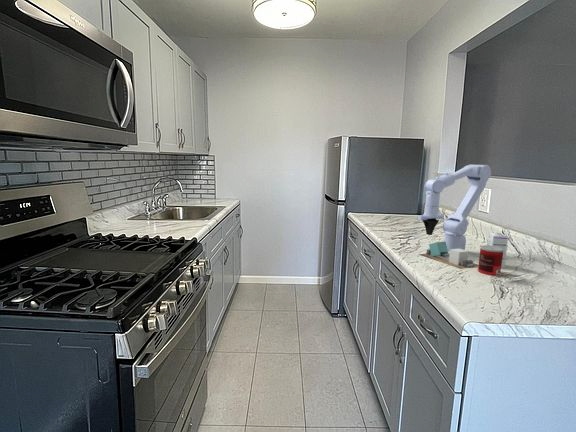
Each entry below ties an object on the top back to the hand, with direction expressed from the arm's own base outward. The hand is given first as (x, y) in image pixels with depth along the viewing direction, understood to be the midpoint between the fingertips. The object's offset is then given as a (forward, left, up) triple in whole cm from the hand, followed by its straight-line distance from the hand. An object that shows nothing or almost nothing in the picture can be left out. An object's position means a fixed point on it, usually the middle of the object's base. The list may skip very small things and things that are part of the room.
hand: (429, 234), depth 160 cm
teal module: (+2, +9, -7) cm, 12 cm away
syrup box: (-10, +26, -10) cm, 29 cm away
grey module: (+2, +18, -8) cm, 20 cm away
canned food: (+1, +31, -10) cm, 32 cm away
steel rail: (+2, +13, -8) cm, 15 cm away
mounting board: (+2, +13, -9) cm, 16 cm away
